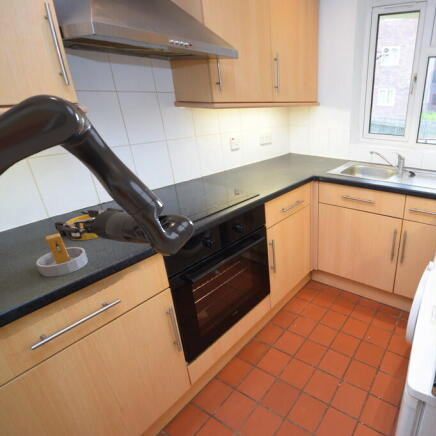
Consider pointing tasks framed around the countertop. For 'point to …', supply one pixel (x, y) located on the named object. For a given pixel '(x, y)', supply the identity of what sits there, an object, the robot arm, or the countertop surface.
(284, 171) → the countertop surface
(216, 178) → the countertop surface
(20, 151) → the robot arm
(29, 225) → the countertop surface
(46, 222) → the countertop surface
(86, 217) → the yellow bowl
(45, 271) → the gray bowl
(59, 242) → the supplement box
